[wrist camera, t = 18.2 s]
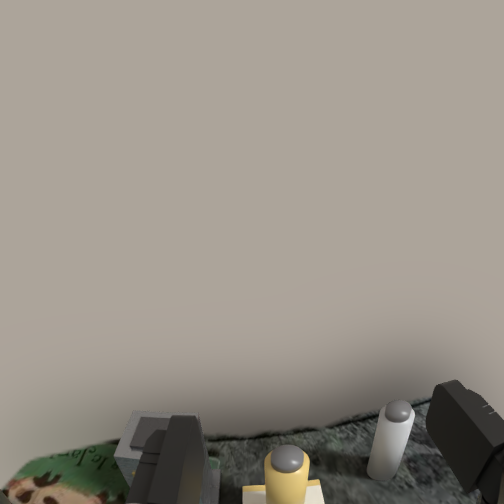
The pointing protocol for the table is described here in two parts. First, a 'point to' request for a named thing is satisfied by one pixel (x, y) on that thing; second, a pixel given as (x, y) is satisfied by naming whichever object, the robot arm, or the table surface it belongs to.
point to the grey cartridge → (390, 439)
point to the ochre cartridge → (286, 475)
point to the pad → (257, 495)
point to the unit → (135, 440)
